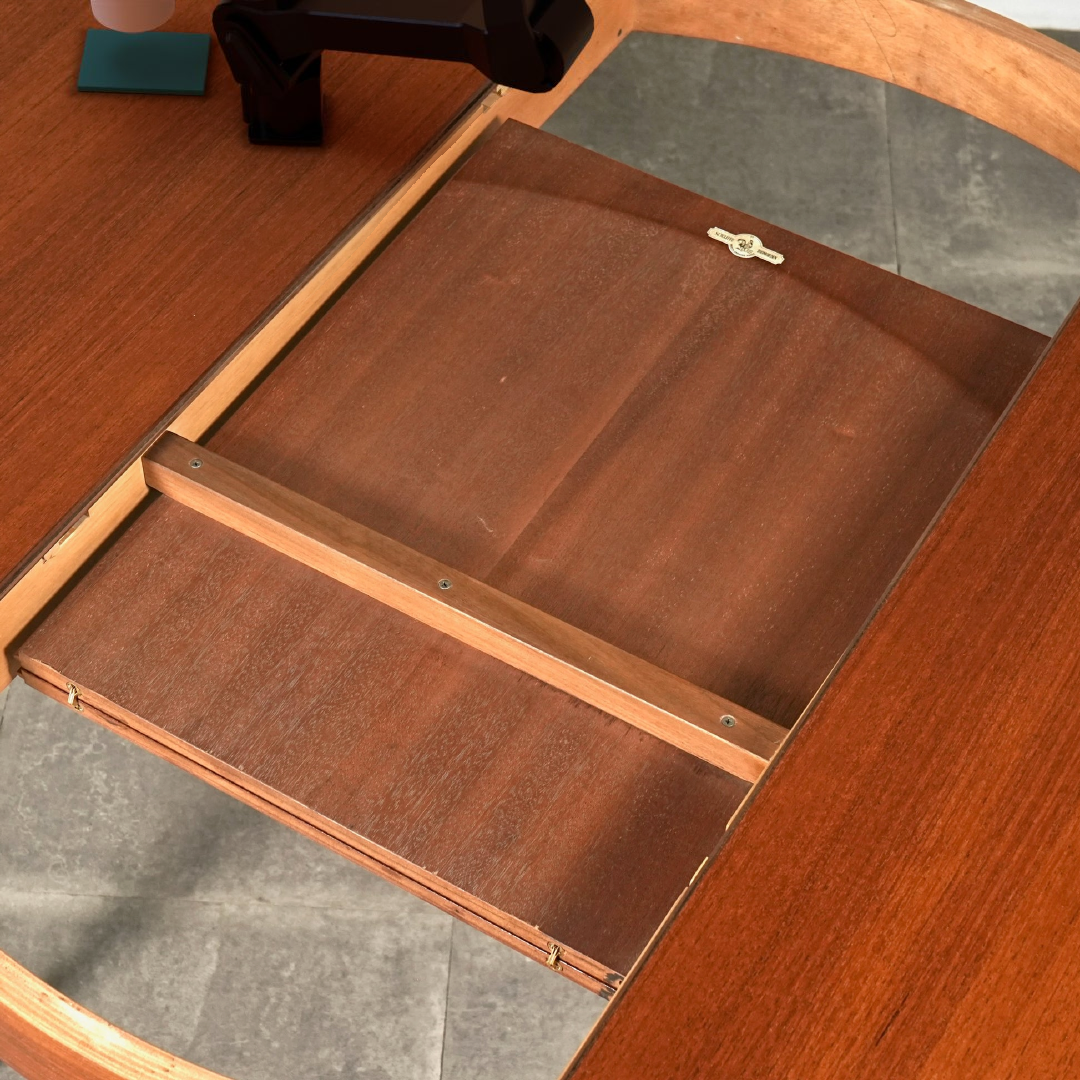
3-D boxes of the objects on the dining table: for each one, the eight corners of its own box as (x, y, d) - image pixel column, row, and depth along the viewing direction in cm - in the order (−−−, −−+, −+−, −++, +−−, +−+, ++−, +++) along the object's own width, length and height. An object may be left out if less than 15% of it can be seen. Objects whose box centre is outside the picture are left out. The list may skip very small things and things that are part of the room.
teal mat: (211, 39, 146) (210, 33, 146) (204, 95, 142) (203, 90, 141) (88, 34, 145) (87, 28, 145) (77, 91, 141) (76, 85, 140)
